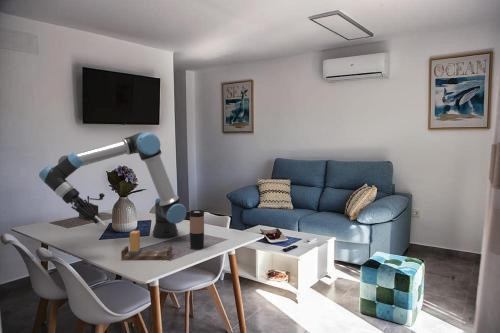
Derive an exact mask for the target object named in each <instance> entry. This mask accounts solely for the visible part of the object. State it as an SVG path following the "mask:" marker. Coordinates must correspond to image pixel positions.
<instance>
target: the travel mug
mask: <svg viewBox="0 0 500 333" xmlns="http://www.w3.org/2000/svg"><path fill="white" fill-rule="evenodd" d="M204 243H205V211H204V210H201V209H192V210H190V211H189V246H190V247H189V248H190V249H191V250H196V251H197V250H202V249H204V246H205V244H204Z"/></svg>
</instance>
